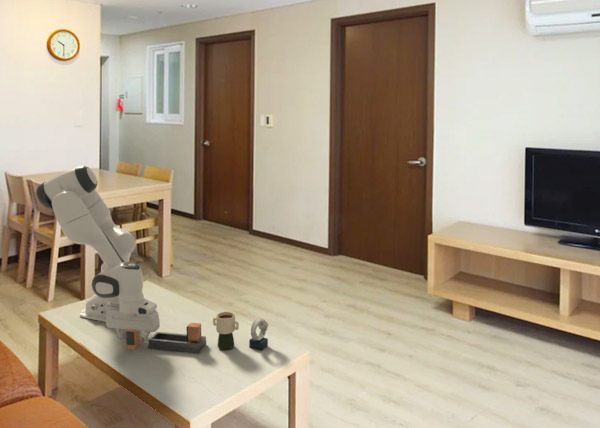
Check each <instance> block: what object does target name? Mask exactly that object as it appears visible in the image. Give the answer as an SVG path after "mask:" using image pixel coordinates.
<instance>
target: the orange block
mask: <svg viewBox="0 0 600 428" xmlns="http://www.w3.org/2000/svg"><path fill="white" fill-rule="evenodd" d="M125 330H126V331H125V339H126V348H127V350H136V349H137V348H138V347H140V346H141V331H136V330H134V329H125Z"/></svg>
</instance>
